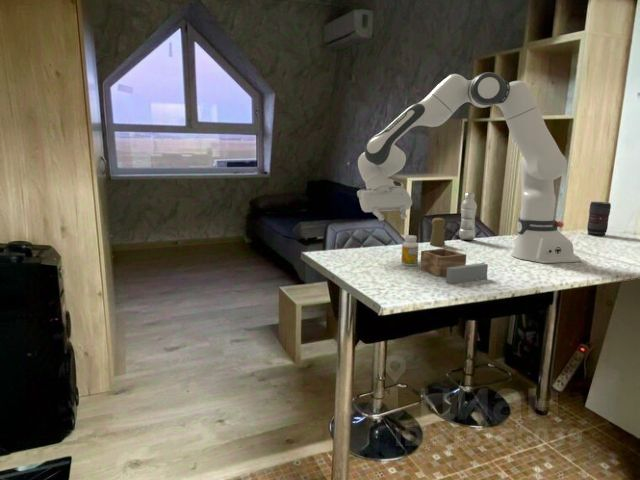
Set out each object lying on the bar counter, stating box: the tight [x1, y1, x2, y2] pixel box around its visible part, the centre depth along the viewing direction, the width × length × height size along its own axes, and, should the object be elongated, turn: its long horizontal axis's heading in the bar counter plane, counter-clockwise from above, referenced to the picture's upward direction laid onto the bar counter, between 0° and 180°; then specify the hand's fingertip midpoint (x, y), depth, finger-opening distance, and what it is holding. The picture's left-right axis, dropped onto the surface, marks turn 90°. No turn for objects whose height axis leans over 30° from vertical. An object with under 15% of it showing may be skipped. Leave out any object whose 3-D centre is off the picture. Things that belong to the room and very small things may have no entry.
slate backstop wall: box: [445, 262, 489, 285], centre depth 141 cm, size 2×14×4 cm, turn 115°
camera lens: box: [586, 201, 612, 237], centre depth 211 cm, size 8×8×15 cm
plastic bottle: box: [458, 192, 478, 241], centre depth 198 cm, size 6×7×20 cm
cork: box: [429, 217, 446, 247], centre depth 189 cm, size 6×6×11 cm
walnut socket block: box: [419, 247, 467, 277], centre depth 151 cm, size 10×10×6 cm
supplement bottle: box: [401, 234, 419, 267], centre depth 159 cm, size 5×5×10 cm
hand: (393, 218), depth 167 cm, fingers open, 8 cm apart
